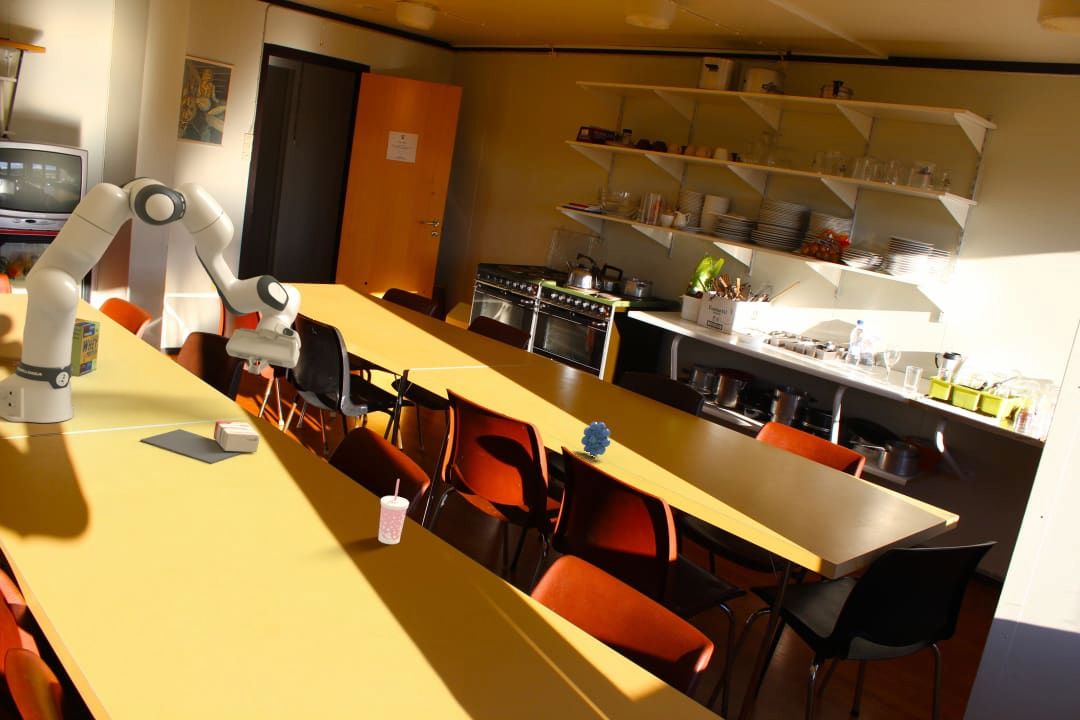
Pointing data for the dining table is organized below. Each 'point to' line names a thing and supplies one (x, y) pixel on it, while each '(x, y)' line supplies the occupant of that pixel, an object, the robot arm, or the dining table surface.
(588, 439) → the grapes
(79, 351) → the protein box
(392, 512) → the beverage cup
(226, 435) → the ink box
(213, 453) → the mat
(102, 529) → the dining table surface
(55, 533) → the dining table surface
